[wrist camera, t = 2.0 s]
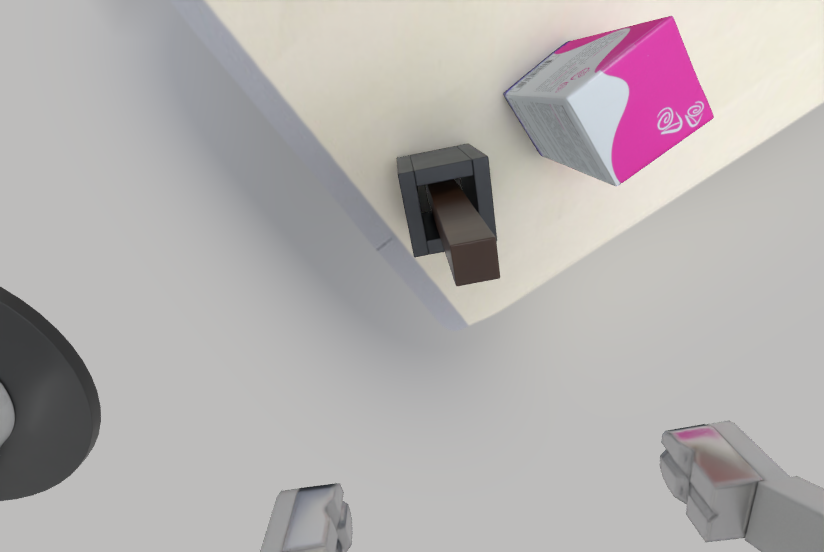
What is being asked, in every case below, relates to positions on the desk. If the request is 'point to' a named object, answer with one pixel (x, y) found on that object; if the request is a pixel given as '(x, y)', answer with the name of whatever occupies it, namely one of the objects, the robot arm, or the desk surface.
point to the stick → (463, 234)
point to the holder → (438, 169)
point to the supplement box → (612, 100)
